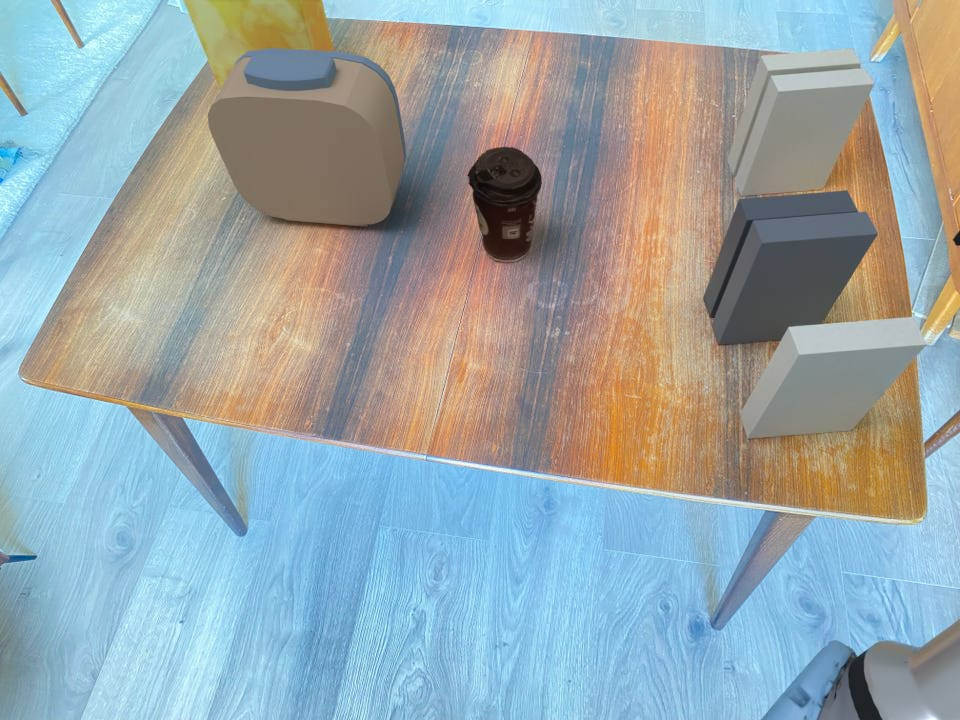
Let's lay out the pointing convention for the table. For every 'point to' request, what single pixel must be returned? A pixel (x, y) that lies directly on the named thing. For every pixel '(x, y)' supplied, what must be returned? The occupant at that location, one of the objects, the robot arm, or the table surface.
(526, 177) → the coffee cup
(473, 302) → the table surface
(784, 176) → the white books
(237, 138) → the alarm clock
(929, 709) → the robot arm
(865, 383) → the white book
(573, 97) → the table surface
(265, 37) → the yellow marbled panel
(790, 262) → the grey books
